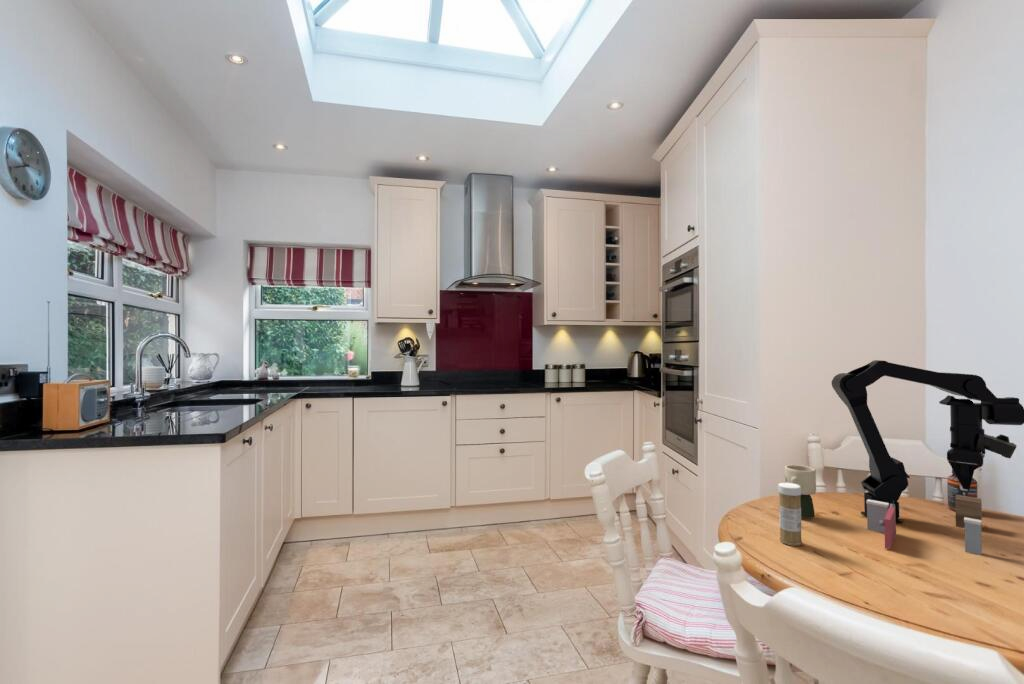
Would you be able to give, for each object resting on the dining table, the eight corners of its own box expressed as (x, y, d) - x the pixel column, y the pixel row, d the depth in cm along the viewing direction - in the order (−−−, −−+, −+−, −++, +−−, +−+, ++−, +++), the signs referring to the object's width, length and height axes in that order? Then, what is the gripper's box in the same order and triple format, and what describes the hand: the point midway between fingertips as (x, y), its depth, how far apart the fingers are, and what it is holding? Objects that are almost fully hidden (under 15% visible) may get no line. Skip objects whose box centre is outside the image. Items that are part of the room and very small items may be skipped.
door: (884, 532, 112) (884, 505, 112) (895, 534, 111) (894, 507, 111) (879, 546, 104) (878, 517, 104) (890, 549, 103) (890, 520, 103)
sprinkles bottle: (789, 537, 110) (787, 481, 111) (807, 545, 106) (805, 486, 106) (774, 540, 109) (773, 483, 109) (792, 548, 104) (791, 488, 105)
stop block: (981, 531, 113) (980, 502, 113) (956, 526, 116) (955, 498, 116) (982, 526, 116) (981, 498, 116) (957, 521, 119) (956, 494, 119)
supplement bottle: (972, 516, 123) (971, 473, 123) (943, 509, 128) (942, 468, 129) (981, 512, 126) (980, 470, 126) (953, 505, 131) (952, 465, 131)
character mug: (794, 508, 130) (793, 462, 131) (823, 515, 125) (822, 466, 125) (778, 517, 123) (777, 468, 124) (808, 525, 118) (807, 474, 118)
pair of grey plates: (866, 529, 115) (866, 500, 115) (868, 527, 116) (867, 498, 116) (982, 555, 100) (981, 522, 100) (982, 552, 101) (981, 519, 101)
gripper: (1013, 432, 104) (1015, 501, 104) (1012, 422, 117) (1014, 484, 117) (946, 426, 112) (947, 490, 112) (952, 418, 125) (953, 476, 125)
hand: (967, 485), depth 116 cm, fingers open, 9 cm apart
